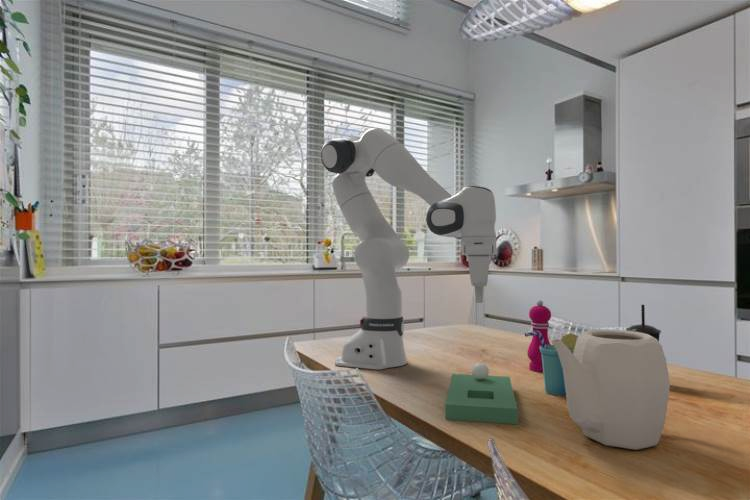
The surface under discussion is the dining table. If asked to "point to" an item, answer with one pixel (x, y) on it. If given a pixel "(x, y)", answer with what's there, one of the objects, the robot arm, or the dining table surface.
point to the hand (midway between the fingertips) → (479, 301)
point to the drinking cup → (645, 327)
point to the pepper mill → (539, 323)
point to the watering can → (616, 386)
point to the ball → (480, 371)
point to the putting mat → (481, 399)
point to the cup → (554, 363)
